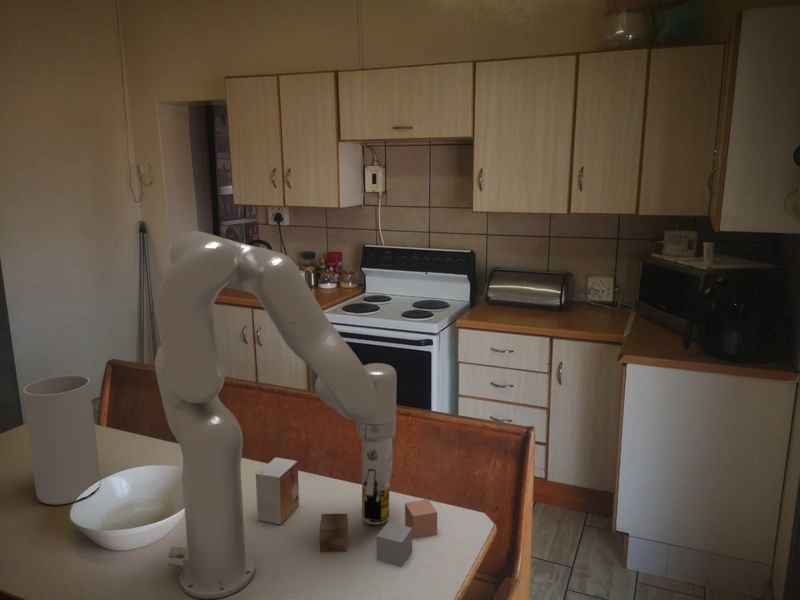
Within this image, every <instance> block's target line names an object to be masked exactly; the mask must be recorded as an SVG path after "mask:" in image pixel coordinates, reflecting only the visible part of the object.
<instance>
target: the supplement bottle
mask: <svg viewBox="0 0 800 600" xmlns="http://www.w3.org/2000/svg"><path fill="white" fill-rule="evenodd" d="M374 485H378V484H377V482H375V484H374ZM390 487H391V485H390V481H389V482H388V485H387V487H386V488H385V489H383V488H380V500H381V518H380V520H376V519H366V518H365V493H366V487H363V485H362V484H361V492H362V493H361V519H362V520H363V522H365V523H366V524H369V525H381V524H384V523H385V522H388V519H389V517H390ZM374 493H376V495H377V489H374Z"/></svg>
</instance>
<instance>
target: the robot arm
mask: <svg viewBox="0 0 800 600" xmlns="http://www.w3.org/2000/svg"><path fill="white" fill-rule="evenodd" d="M169 251H170V252H169V261H170V265H171V267H170V268H169V269H168V271H167V272H166V274H165V276H164V278H163V279H162V281H161V283H160V286H159V289H158V291H157V295H156V299H155V316H156V322H157V328H158V333H159V341H160V346H159V348H157V351H156V354H155V358H154V370H155V376H156V381H157V385H158V388H159V392H160V397H161V402H162V405H163V410H164V414H165V417H166V421H167V424H168V428H169V430H170V431H171V433H172V435H173V437H174V438H175V439H176V442H177V443H178V445H179V446H180V449H181V453H182V462H183V463H182V494H183V504H184V506H183V507H184V519H185V532H186V544H187V548H186V547H179V546H171V547H170V549H169V551H168V558H169V560H168V566H170V567H180V568H181V569H182V570H181V572H180V576H179V579H180V580H179V581H180V586H181V589H182V590H183V592H185V594H187V595H189V596H191V597H193V598H197V599H205V600H209V599H211V600H213V599H219V598H223V597H226V596H230V595H231V594H235V593H236V592H239V591H240V590H243V588H244V587H246V586H247V585H248V584H249V583H250V582H251V580H252V579H253V577H254V575H255V572H256V571H255V569H256V565H255V559H254V558H253V557H252V556H251V555H250V554H249V553H248V552H246V544H245V527H244V526H245V525H244V523H245V522H244V509H243V508H244V507H243V505H244V504H243V490H242V489H243V488H242V458H243V457H242V453H243V446H244V445H243V444H244V443H243V439H244V438H243V432H242V428H241V425H240V423H239V421H238V419H237V418H236V417H235V415H234V414H233V413H232V411H230V409H228V408H227V407H226V406H225V404H223V403H222V401H221V400H220V397H219V394H220V392H221V391H222V389H223V386H224V383H225V379H226V377H225V373H226V372H225V366H224V362H223V359H222V358H223V357H222V354H221V349H220V345H219V341H218V339H219V338H218V335H217V331H216V325H215V317H214V307H215V302H216V300H217V298H218V296H219V294H220V293H221V291H222V290H223V289H224V288H226V289H227V288H228V289H231V290H237V291H241V292H242V291H243V292H247V293H249V294H252V295H254V296H255V297H256V299H257V300H258V301H259V303H260V305H261V306H262V308H263V309H264V311H265V312H266V314H267V315H268V317H269V319H270V320H271V322H272V323H273V325H274V326H275V328H276V330H277V331H278V333H279V335H280V337H281V338H282V340H283V341H284V343H285V344H286V345H287V346H288V348H289V349H290V351H292V352H293V353H294V354H295V356H297V357H298V358H299V359H301V361H302V362H304V364H306V365H307V366H308V367H309V368H310V369H312V370H313V372H314V373H315V374H316V375H317V378H316V379H315V380H316V381H315V383H314V385H315V386H314V389H315V392H316V395H317V397H318V398H319V399H320V400H321V401H322V402H324V403H325V404H326V405H327V406H328V407H330V408H332V409H334V410H335V411H336V412H338V413H339V414H340V415H341V416H342V417H344V418H346V419H348V420H351V421H357V435H358V437H360V438H362V443H361V444H362V448H361V486H362V485H363V487H366V493H365V518H366V519H376V520H380V518H381V500H380V488H383V489H385V488H386V487H387V485H388V482H389V483H390V478H391V476H392V471H393V438H394V437H395V436H396V430H397V428H396V426H397V424H396V423H397V382H398V381H397V379H398V378H397V370H396V369H395V367H393V366H392V365H390V364H388V363H387V364H386V363H381V362H375V363H373V362H372V363H368V364H364V365H363V363H362V362H361V361H360V359H359V357H358V356H357V354H356V353H355V352H354V351H353V350H352V349H351V347H350V346H349V344H348V343H347V342H346V341H345V340H344V338H343V336H341V334H340V333H339V331H338V330H337V329H336V327H334V325H333V324H332V323H331V321H330V320H329V319H328V317H327V316H326V314H325V312H324V311H323V309H322V308H321V305H320V304H319V302H318V300H317V299H316V297H315V296H314V294H313V292H312V290H311V288H310V287H309V285H308V283H307V281H306V279H305V277H304V276H303V274H302V272H301V270H300V269H299V267H298V266H297V265H296V263H295V262H294V261H293V260H292V259H291V258H290V257H289V256H288V255H286V254H284V253H281V252H278V251H277V250H276V251H275V250H271V249H268V248H264V247H260V246H254V245H251V244H247V243H242V242H238V241H235V240H232V239H228V238H225V237H221V236H218V235H214V234H211V233H208V232H204V231H199V230H192V231H187V232H185V233H183V234H181V235H180V236H178V237H177V238H176V239H175V240H174V241H173V243H172V244H171V247H170V250H169ZM375 482H377V484H378V485H374V484H375ZM374 489H377V495H376V493H374Z"/></svg>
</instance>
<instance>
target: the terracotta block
mask: <svg viewBox="0 0 800 600" xmlns="http://www.w3.org/2000/svg"><path fill="white" fill-rule="evenodd" d="M404 526H406V527H411V528H412V540H417V539H421V538H426V537H427V538H428V537H433V536H437V535H438V511H437V510H436V508H435V506H434V505H433V503H431V500H429V499H422V500H421V499H420V500H417V501H410V502H405V503H404Z"/></svg>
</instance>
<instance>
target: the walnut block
mask: <svg viewBox="0 0 800 600" xmlns="http://www.w3.org/2000/svg"><path fill="white" fill-rule="evenodd" d="M348 516H349V515H348V513H321V516H320V522H319V523H320V524H319V553H347V552H348V538H349V537H348V536H349V533H348V532H349V531H348V530H349V529H348V528H349V527H348V525H349V524H348V520H349V519H348Z"/></svg>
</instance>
